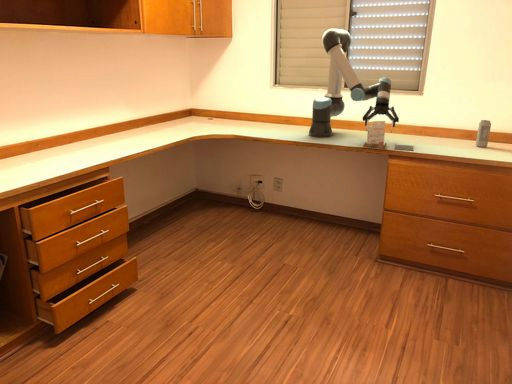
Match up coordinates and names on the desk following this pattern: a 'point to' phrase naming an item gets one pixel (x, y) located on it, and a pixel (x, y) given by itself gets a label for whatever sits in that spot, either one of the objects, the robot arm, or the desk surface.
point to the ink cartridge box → (376, 133)
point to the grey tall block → (483, 133)
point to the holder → (374, 145)
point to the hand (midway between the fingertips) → (379, 130)
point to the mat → (403, 147)
